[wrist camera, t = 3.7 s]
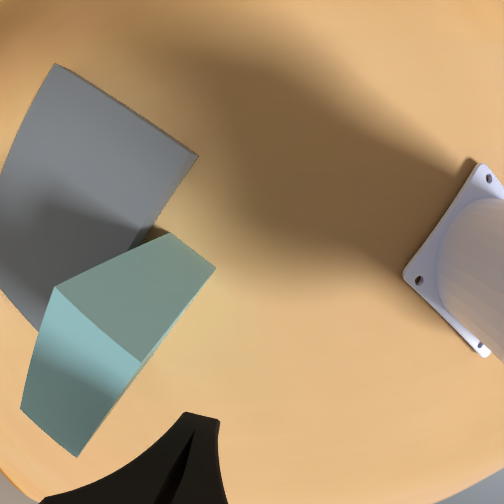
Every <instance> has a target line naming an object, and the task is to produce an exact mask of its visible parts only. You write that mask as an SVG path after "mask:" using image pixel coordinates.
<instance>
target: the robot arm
mask: <svg viewBox="0 0 504 504" xmlns="http://www.w3.org/2000/svg"><path fill="white" fill-rule="evenodd" d="M486 175H487V176H488V182H487V181H486ZM402 275H403V279H404V280H405V281H406V282H407V283H408V284H409V285H410V286H411V287H412V288H413V289H414V290H415V291H416V292H418V293H419V294H420V295H421V296H422V297H423V298H424V299H425V300H426V301H427V302H428V303H429V304H430V305H431V306H432V307H433V308H434V309H435V310H436V311H437V312H438V313H439V314H440V315H441V316H442V317H443V318H444V319H445V320H446V321H447V322H448V323H449V324H450V325H451V326H452V327H453V328H454V329H455V330H456V331H457V332H458V333H459V334H460V335H461V336H462V337H463V338H464V339H465V340H466V341H467V342H468V343H469V344H470V345H471V346H472V348H473V349H474V350H475V351H476V352H477V353H478V354H479V355H480V356H481V357H482V358H485V357H487V356H488V355H489V354H490V353H491V352H492V353H493V354H494V355H495V356H496V357H497V358H499V359H500V360H501V361H502V362H503V363H504V187H503V186H502V184H501V183H500V182H499V180H498V179H497V178H496V176H495V175H494V174H493V172H492V171H491V170H490V168H489V167H488V166H487V165H486V164H484V163H478V164H477V165H476V166H475V167H474V169H473V171H472V172H471V174H470V176H469V177H468V179H467V180H466V182H465V184H464V185H463V187H462V188H461V190H460V191H459V193H458V195H457V196H456V198H455V199H454V201H453V202H452V204H451V205H450V207H449V208H448V210H447V211H446V213H445V214H444V215H443V217H442V218H441V220H440V221H439V223H438V224H437V225H436V227H435V228H434V230H433V231H432V232H431V234H430V235H429V237H428V238H427V239H426V241H425V242H424V243H423V245H422V246H421V247H420V249H419V250H418V251H417V253H416V254H415V255H414V257H413V258H412V259H411V260H410V262H409V263H408V264H407V265H406V267H405V268H404V270H403V274H402ZM418 276H421V280H420V282H418V283H415V279H416V278H417V277H418ZM480 341H481V342H480ZM479 342H480V344H478V343H479ZM219 427H220V421H219V420H218V419H214V418H210V417H206V416H201V415H197V414H193V413H189V412H184V413H183V414H182V415H181V416H180V418H179V419H178V420H177V421H176V422H175V423H174V425H173V426H172V427H171V428H170V429H169V430H168V431H167V432H166V433H165V434H164V435H163V436H162V437H161V438H160V439H159V440H157V441H156V442H155V443H154V444H153V445H152V446H151V447H150V448H148V449H147V450H146V451H145V452H143V453H142V454H141V455H139V456H138V457H137V458H136V459H134V460H133V461H131V462H130V463H128V464H127V465H125V466H124V467H122V468H120V469H119V470H117V471H115V472H114V473H112V474H110V475H108V476H106V477H104V478H102V479H100V480H98V481H96V482H93V483H91V484H88V485H86V486H83V487H80V488H78V489H75V490H72V491H69V492H65V493H61V494H57V495H53V496H48V497H45V498H44V499H43V500H42V501H41V502H40V503H39V504H228V502H227V498H226V495H225V491H224V487H223V483H222V477H221V472H220V466H219V456H218V433H219Z"/></svg>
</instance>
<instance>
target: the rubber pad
mask: <svg viewBox="0 0 504 504" xmlns="http://www.w3.org/2000/svg"><path fill="white" fill-rule="evenodd" d="M198 157H199V156H198V155H197V154H196V153H194V152H193V151H191V150H190V149H188V148H187V147H186V146H184V145H183V144H181V143H180V142H179V141H177V140H176V139H174V138H173V137H171V136H170V135H168V134H167V133H166V132H164V131H163V130H161V129H160V128H158V127H157V126H155V125H154V124H152V123H151V122H150V121H148V120H147V119H145V118H144V117H142V116H141V115H139V114H138V113H136V112H135V111H133V110H132V109H130V108H129V107H127V106H126V105H124V104H123V103H121V102H120V101H118V100H117V99H115V98H113V97H112V96H110V95H109V94H107V93H106V92H104V91H103V90H101V89H100V88H98V87H96V86H95V85H93V84H92V83H90V82H89V81H87V80H85V79H84V78H82V77H81V76H79V75H77V74H76V73H74V72H73V71H71V70H69V69H67V68H65V67H62V66H60V65H58V64H54V66H53V67H52V69H51V71H50V72H49V74H48V76H47V77H46V79H45V81H44V82H43V84H42V86H41V88H40V89H39V91H38V93H37V95H36V97H35V99H34V100H33V102H32V104H31V106H30V108H29V110H28V112H27V114H26V116H25V118H24V120H23V122H22V124H21V127H20V129H19V131H18V133H17V135H16V138H15V140H14V142H13V145H12V147H11V150H10V152H9V154H8V157H7V160H6V162H5V165H4V167H3V170H2V173H1V176H0V289H1V290H2V291H3V292H4V294H5V295H6V296H7V297H8V299H9V300H10V301H11V302H12V303H13V304H14V306H15V307H16V308H17V309H18V310H19V311H20V312H21V314H22V315H23V316H24V317H25V318H26V319H27V320H28V321H29V322H30V323H31V324H32V326H33V327H34V328H35V329H36V330H37V331H38V332H39V330H40V327H41V324H42V321H43V318H44V315H45V312H46V309H47V306H48V303H49V300H50V297H51V295H52V292H53V289H54V287H55V286H57V285H59V284H61V283H63V282H65V281H67V280H69V279H71V278H73V277H75V276H77V275H79V274H81V273H83V272H85V271H87V270H89V269H91V268H93V267H95V266H97V265H100V264H102V263H104V262H106V261H108V260H110V259H112V258H114V257H117V256H119V255H121V254H123V253H125V252H127V251H130V250H132V249H134V248H136V247H138V246H140V245H141V243H142V241H143V240H144V238H145V237H146V235H147V233H148V232H149V230H150V228H151V227H152V225H153V224H154V222H155V220H156V219H157V217H158V216H159V214H160V213H161V211H162V209H163V208H164V206H165V205H166V203H167V202H168V200H169V199H170V197H171V196H172V194H173V193H174V191H175V190H176V188H177V187H178V185H179V184H180V182H181V181H182V179H183V178H184V176H185V175H186V174H187V172H188V171H189V169H190V168H191V166H192V165H193V164H194V162H195V161H196V159H197V158H198Z"/></svg>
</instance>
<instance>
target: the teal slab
mask: <svg viewBox="0 0 504 504" xmlns="http://www.w3.org/2000/svg"><path fill="white" fill-rule="evenodd" d="M215 270H216V267H215V266H213V265H212V264H211V263H209V262H208V261H207V260H205V259H204V258H203V257H201V256H200V255H199V254H198V253H196V252H195V251H194V250H192V249H191V248H190V247H189V246H187V245H186V244H185V243H183V242H182V241H181V240H179V239H178V238H177V237H176V236H174V235H173V234H172V233H171V232H170V233H168V234H165V235H163V236H161V237H158V238H156V239H154V240H152V241H149V242H147V243H145V244H143V245H141V246H138V247H136V248H134V249H132V250H130V251H127V252H125V253H123V254H121V255H119V256H117V257H114V258H112V259H110V260H108V261H106V262H104V263H102V264H100V265H97V266H95V267H93V268H91V269H89V270H87V271H85V272H83V273H81V274H79V275H77V276H75V277H73V278H71V279H69V280H67V281H65V282H63V283H61V284H59V285H57V286H55V287H54V289H53V292H52V295H51V297H50V300H49V303H48V306H47V309H46V312H45V315H44V318H43V321H42V324H41V327H40V330H39V333H38V337H37V340H36V343H35V347H34V351H33V354H32V358H31V362H30V366H29V370H28V374H27V378H26V383H25V387H24V392H23V397H22V402H21V407H20V409H21V410H22V411H23V412H24V413H25V414H26V415H27V416H28V417H29V418H30V419H31V420H32V421H33V422H34V423H35V424H36V425H38V426H39V427H40V428H41V429H42V430H43V431H44V432H45V433H46V434H48V435H49V436H50V437H51V438H52V439H53V440H55V441H56V442H57V443H58V444H59V445H61V446H62V447H63V448H64V449H66V450H67V451H68V452H69V453H71V454H72V455H73V456H75V457H76V458H77V457H78V456H79V454H80V453H81V451H82V450H83V449H84V447H85V446H86V444H87V443H88V442H89V440H90V439H91V438H92V436H93V435H94V433H95V432H96V431H97V429H98V428H99V427H100V425H101V424H102V423H103V421H104V420H105V418H106V417H107V416H108V414H109V413H110V412H111V410H112V409H113V408H114V406H115V405H116V403H117V402H118V401H119V399H120V398H121V397H122V395H123V394H124V393H125V391H126V390H127V389H128V387H129V386H130V385H131V383H132V382H133V381H134V379H135V378H136V377H137V375H138V374H139V373H140V371H141V370H142V369H143V367H144V366H145V365H146V363H147V362H148V361H149V359H150V358H151V357H152V355H153V354H154V352H155V351H156V350H157V348H158V347H159V346H160V344H161V343H162V341H163V340H164V339H165V337H166V336H167V335H168V333H169V332H170V330H171V329H172V328H173V326H174V325H175V324H176V322H177V321H178V320H179V318H180V317H181V315H182V314H183V313H184V311H185V310H186V309H187V307H188V306H189V305H190V303H191V302H192V300H193V299H194V298H195V296H196V295H197V294H198V292H199V291H200V290H201V288H202V287H203V286H204V284H205V283H206V282H207V280H208V279H209V278H210V276H211V275H212V274H213V272H214V271H215Z"/></svg>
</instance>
